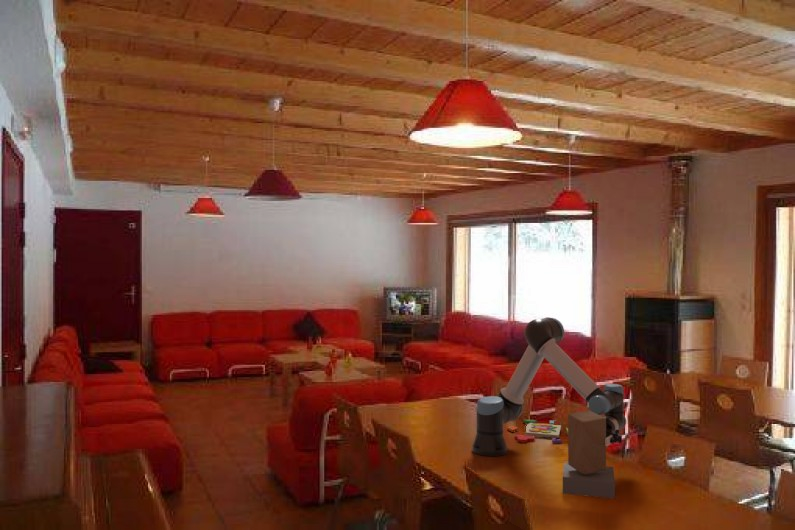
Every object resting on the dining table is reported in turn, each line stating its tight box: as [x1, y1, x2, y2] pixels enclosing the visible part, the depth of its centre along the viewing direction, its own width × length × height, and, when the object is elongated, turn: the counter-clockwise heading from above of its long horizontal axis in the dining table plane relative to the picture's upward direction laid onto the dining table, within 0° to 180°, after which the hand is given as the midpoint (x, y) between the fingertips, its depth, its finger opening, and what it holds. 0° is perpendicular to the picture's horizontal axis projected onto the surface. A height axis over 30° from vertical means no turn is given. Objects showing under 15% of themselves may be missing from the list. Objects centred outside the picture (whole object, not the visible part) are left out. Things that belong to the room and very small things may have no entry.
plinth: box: [562, 461, 616, 499], centre depth 240 cm, size 18×18×6 cm
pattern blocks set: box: [506, 419, 568, 444], centre depth 317 cm, size 38×34×3 cm
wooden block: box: [567, 409, 607, 475], centre depth 238 cm, size 10×10×20 cm
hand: (587, 439), depth 238 cm, fingers closed on wooden block, 13 cm apart
